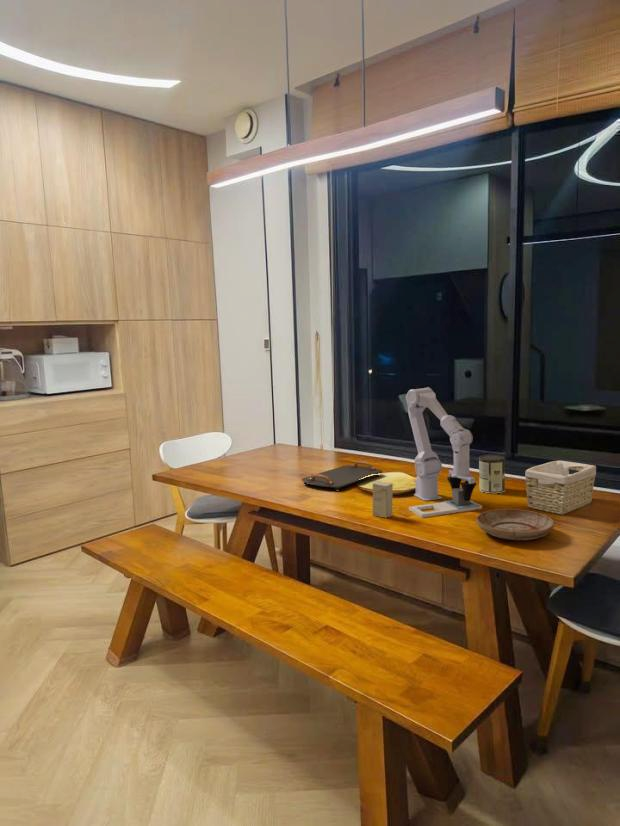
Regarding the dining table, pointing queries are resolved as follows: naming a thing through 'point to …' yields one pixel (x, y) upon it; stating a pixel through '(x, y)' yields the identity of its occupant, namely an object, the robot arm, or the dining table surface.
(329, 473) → the serving board
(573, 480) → the storage basket
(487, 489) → the coffee can
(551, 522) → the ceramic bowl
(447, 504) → the two-tone slotted frame
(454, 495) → the plug
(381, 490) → the skincare box
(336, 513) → the dining table surface
